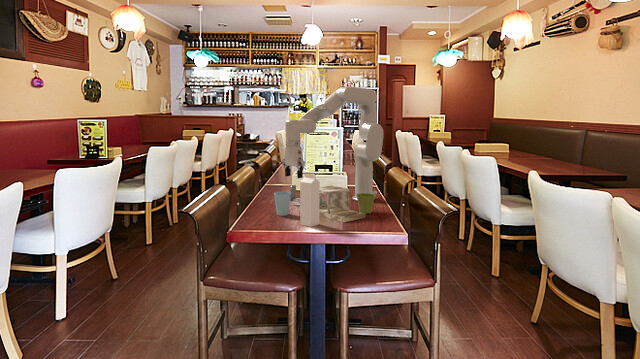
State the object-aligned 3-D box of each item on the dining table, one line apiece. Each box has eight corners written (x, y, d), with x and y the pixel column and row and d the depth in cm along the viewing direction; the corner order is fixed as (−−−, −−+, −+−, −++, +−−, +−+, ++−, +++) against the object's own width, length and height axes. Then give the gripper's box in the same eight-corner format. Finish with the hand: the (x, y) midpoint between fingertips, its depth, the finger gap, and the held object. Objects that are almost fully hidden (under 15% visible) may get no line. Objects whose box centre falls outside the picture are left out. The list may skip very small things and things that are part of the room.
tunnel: (297, 210, 229) (297, 186, 227) (318, 206, 238) (318, 183, 237) (344, 222, 206) (344, 195, 204) (365, 217, 215) (365, 191, 213)
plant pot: (377, 211, 229) (377, 193, 227) (372, 215, 220) (373, 197, 219) (358, 209, 232) (358, 192, 230) (353, 213, 223) (353, 196, 222)
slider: (284, 201, 240) (284, 186, 239) (297, 199, 246) (297, 184, 245) (313, 208, 224) (313, 191, 223) (326, 205, 230) (326, 189, 229)
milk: (308, 222, 206) (308, 172, 202) (319, 224, 202) (320, 174, 199) (299, 225, 201) (300, 174, 198) (311, 227, 197) (311, 175, 194)
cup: (285, 217, 215) (285, 194, 214) (271, 215, 218) (271, 193, 217) (293, 213, 222) (293, 192, 220) (279, 212, 225) (279, 191, 224)
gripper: (309, 144, 234) (310, 177, 237) (288, 142, 247) (289, 174, 249) (298, 145, 229) (299, 179, 232) (276, 143, 242) (277, 176, 244)
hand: (293, 177), depth 240 cm, fingers open, 9 cm apart
